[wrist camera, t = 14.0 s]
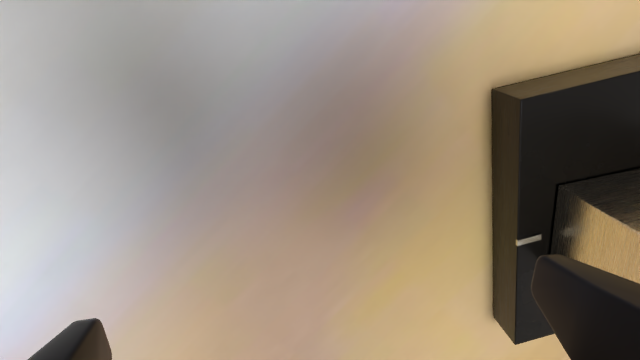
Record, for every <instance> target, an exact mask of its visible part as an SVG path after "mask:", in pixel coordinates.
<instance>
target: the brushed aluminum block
mask: <svg viewBox="0 0 640 360" xmlns="http://www.w3.org/2000/svg"><path fill="white" fill-rule="evenodd" d="M550 254H561V255H564V256H567V257H569V258H572V259H575V260H577V261H580V262H583V263H585V264H588V265H591V266H593V267H596V268H599V269H602V270H604V271H607V272H610V273H612V274H615V275H618V276H620V277H623V278H626V279H628V280H631V281H634V282H636V283H639V284H640V168H639V169H634V170H630V171H625V172H620V173H615V174H611V175H606V176H601V177H597V178H592V179H587V180H582V181H578V182H573V183H568V184H563V185H559V186H558V194H557V202H556V211H555V219H554V227H553V235H552V243H551V251H550Z"/></svg>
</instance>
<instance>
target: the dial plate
mask: <svg viewBox="0 0 640 360" xmlns="http://www.w3.org/2000/svg"><path fill="white" fill-rule="evenodd" d="M492 150H493V279H494V318H495V320H496V321H497V322H498V323H499V325H500V326H501V327H502V329H503V330H504V331H505V332H506V334H507V335H508V336H509V338H510V339H511V340H512V341H513V343H514V344H515V345H516V344H520V343H523V342H527V341H530V340H534V339H537V338H541V337H544V336H548V335H551V334H555V333H554V331H553V329H552V328H551V326H550V324H549V323H548V321H547V319H546V318H545V316H544V314H543V313H542V311H541V309H540V308H539V306H538V304H537V303H536V301H535V299H534V297H533V295H532V291H531V283H532V279H533V274H534V270H535V265H536V261H537V259H538V258H539V257H540V256H542V255H549V254H550V251H551V243H552V235H553V227H554V219H555V211H556V202H557V194H558V186H559V185H563V184H568V183H573V182H578V181H582V180H587V179H592V178H597V177H601V176H606V175H611V174H615V173H620V172H625V171H630V170H634V169H639V168H640V54H637V55H633V56H629V57H625V58H621V59H616V60H612V61H608V62H604V63H600V64H596V65H591V66H587V67H583V68H579V69H575V70H570V71H566V72H562V73H558V74H554V75H550V76H545V77H541V78H537V79H533V80H529V81H524V82H520V83H516V84H512V85H508V86H504V87H499V88H495V89H492Z"/></svg>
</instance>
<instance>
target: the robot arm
mask: <svg viewBox="0 0 640 360" xmlns="http://www.w3.org/2000/svg"><path fill="white" fill-rule="evenodd" d="M531 291H532V295H533V297H534V299H535V301H536V303H537V304H538V306H539V308H540V309H541V311H542V313H543V314H544V316H545V318H546V319H547V321H548V323H549V324H550V326H551V328H552V329H553V331H554V333H555V334H556V336H557V338H558V339H559V341H560V343H561V344H562V346H563V348H564V349H565V351H566V352H567V354H568V356H569V357H570V359H571V360H640V284H639V283H636V282H634V281H631V280H628V279H626V278H623V277H620V276H618V275H615V274H612V273H610V272H607V271H604V270H602V269H599V268H596V267H593V266H591V265H588V264H585V263H583V262H580V261H577V260H575V259H572V258H569V257H567V256H564V255H561V254H549V255H542V256H540V257H539V258H538V259H537V261H536V265H535V270H534V274H533V279H532V283H531ZM28 360H112V353H111V348H110V345H109V342H108V339H107V337H106V334H105V331H104V328H103V325H102V323H101V321H100V320H99V319H96V318H93V319H86V320H79V321H75V322H73V323H72V324H70V325H69V326H68V327H67V328H66V329H64V330H63V331H62V332H61V333H59V334H58V335H57V336H56V337H55V338H53V339H52V340H51V341H50V342H49V343H47V344H46V345H45V346H44V347H42V348H41V349H40V350H39V351H38V352H36V353H35V354H34V355H33V356H32V357H30V358H29V359H28Z"/></svg>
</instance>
